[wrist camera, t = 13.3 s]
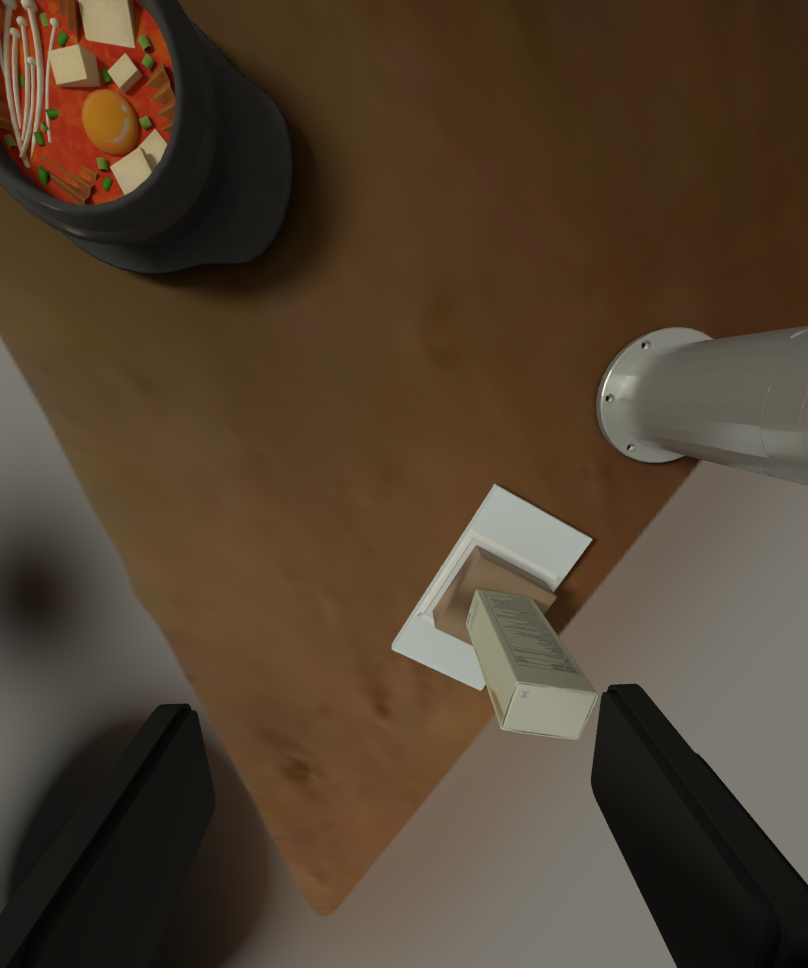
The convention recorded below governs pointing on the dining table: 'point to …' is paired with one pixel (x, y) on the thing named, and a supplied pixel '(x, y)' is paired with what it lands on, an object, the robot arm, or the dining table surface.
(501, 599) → the skincare box
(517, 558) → the white board
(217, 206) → the casserole
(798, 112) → the dining table surface
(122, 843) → the robot arm
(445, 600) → the walnut plinth
